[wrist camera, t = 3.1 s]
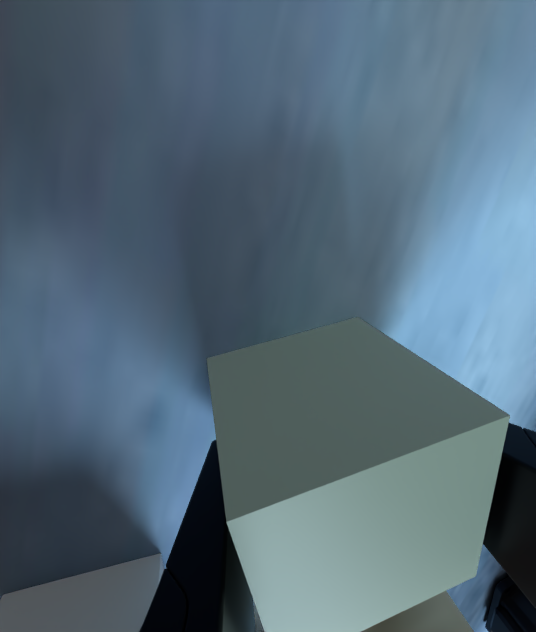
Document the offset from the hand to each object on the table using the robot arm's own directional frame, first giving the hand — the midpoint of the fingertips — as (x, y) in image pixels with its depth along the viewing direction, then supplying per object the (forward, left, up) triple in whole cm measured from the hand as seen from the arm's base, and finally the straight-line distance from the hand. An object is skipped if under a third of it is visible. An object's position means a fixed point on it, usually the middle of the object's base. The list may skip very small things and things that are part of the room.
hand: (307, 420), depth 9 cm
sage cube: (0, 0, -1) cm, 1 cm away
